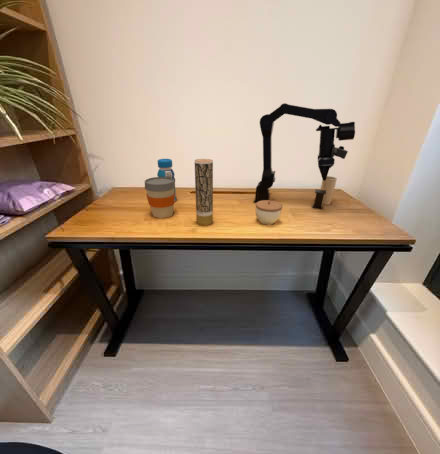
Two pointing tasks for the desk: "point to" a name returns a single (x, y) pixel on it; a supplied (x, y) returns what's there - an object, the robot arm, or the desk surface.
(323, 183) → the pen pot
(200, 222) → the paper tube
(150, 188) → the reusable coffee cup
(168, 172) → the beverage bottle
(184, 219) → the desk surface
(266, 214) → the trinket box
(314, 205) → the leg piece
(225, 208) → the desk surface
